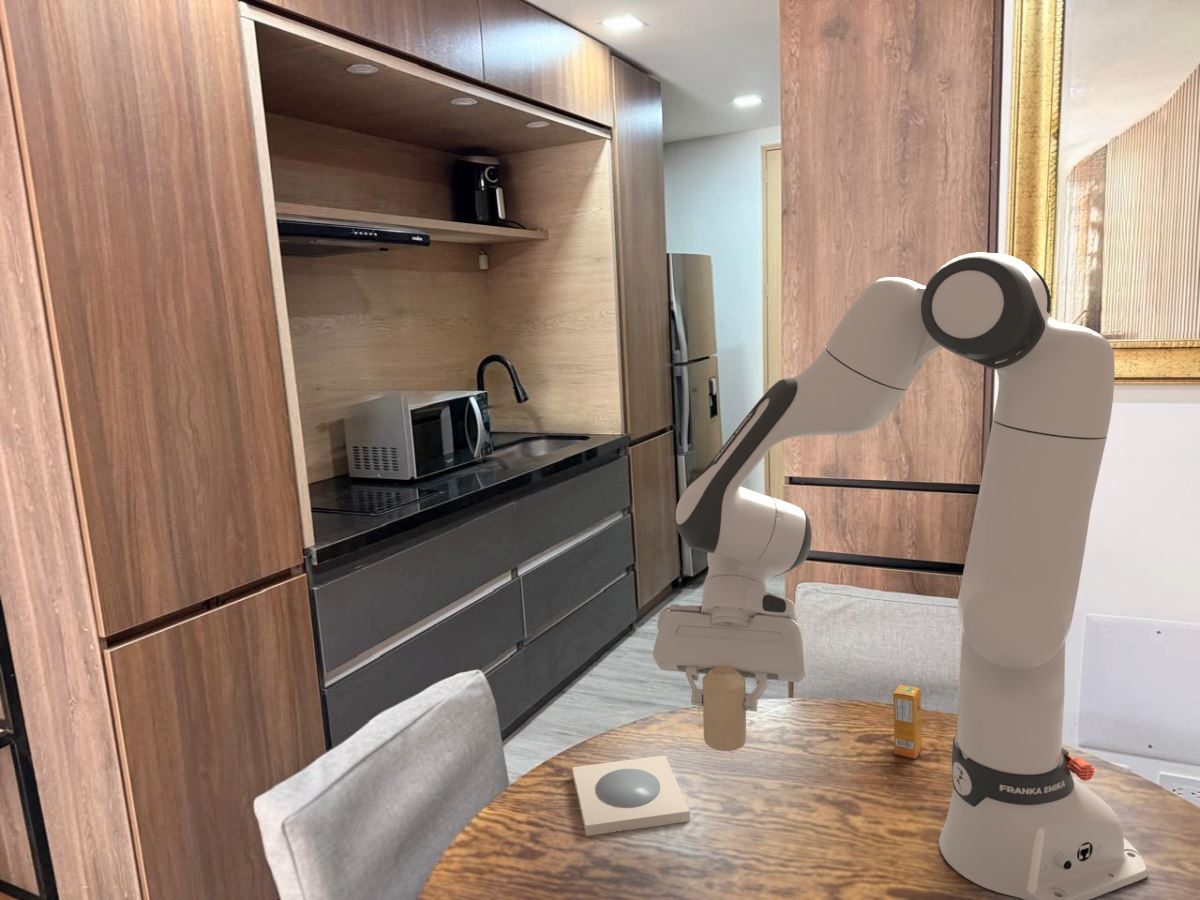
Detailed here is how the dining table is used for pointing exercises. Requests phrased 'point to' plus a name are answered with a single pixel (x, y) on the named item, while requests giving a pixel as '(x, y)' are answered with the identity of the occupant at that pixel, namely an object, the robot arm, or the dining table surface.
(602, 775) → the base board
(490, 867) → the dining table surface
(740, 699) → the candle
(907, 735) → the supplement box
